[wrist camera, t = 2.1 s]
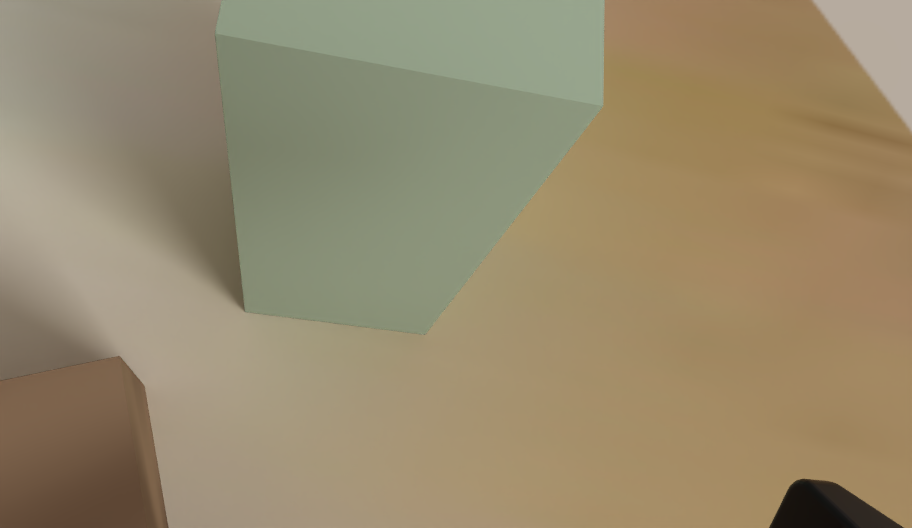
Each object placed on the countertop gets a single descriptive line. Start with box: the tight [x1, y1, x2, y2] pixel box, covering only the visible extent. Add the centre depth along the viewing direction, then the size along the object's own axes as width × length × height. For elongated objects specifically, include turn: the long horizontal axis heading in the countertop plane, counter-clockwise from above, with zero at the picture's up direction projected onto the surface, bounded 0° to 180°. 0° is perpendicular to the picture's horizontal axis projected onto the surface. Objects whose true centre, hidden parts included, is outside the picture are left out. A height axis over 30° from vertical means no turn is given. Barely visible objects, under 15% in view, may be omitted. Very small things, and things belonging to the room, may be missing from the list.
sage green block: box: [215, 0, 604, 335], centre depth 17 cm, size 5×5×13 cm
